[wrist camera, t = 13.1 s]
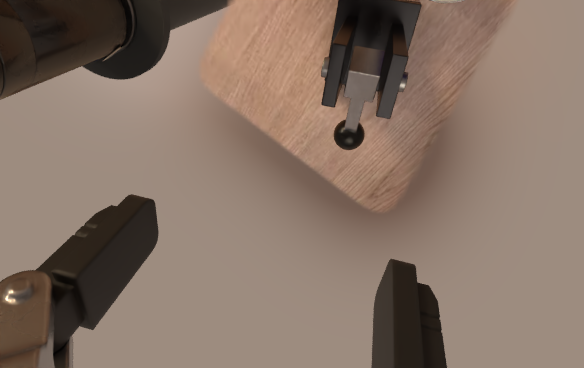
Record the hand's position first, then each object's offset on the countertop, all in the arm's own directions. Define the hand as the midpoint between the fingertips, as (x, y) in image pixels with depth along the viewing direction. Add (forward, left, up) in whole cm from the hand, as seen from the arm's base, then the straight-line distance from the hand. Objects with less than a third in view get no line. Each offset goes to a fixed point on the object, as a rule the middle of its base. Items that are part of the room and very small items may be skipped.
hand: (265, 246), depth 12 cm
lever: (+2, -2, -22) cm, 22 cm away
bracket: (+2, +1, -28) cm, 28 cm away
